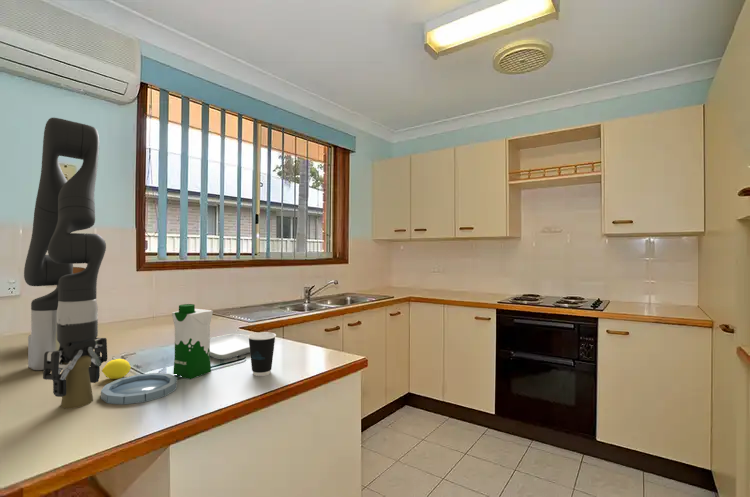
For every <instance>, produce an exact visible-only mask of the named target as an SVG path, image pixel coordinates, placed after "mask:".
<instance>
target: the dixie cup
mask: <svg viewBox="0 0 750 497" xmlns="http://www.w3.org/2000/svg"><path fill="white" fill-rule="evenodd" d="M247 336H248V338H249V346H250V353H249V354H250V355H249V356H250V364H251V371H252V375H254V376H257V377H264V376H268V375H269V374H271V370H272V367H273V357H274V351H275V350H274V349H275V344H276V343H275V342H276V337H277V334H276V333H274V332H267V331H266V332H264V331H263V332H254V333H250V334H248V335H247Z"/></svg>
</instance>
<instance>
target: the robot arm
mask: <svg viewBox="0 0 750 497" xmlns="http://www.w3.org/2000/svg"><path fill="white" fill-rule="evenodd" d="M99 154H100V136H99V131H98V129H97V128H96V127H94V126H93V125H88V124H86V123H81V122H76V121H72V120H68V119H64V118H59V117H50V118H49V119H48V120H46V123H45V126H44V131H43V140H42V153H41V155H42V156H41V168H40V169H41V170H40V176H39V182H38V188H37V194H36V197H35V204H34V212H33V221H32V223H33V224H32V234H31V239H30V243H29V246H28V251H27V255H26V259H25V262H24V268H23V279H24V281H25V283H26V284H27V285H28V286H30V287H47V286H48V287H50V286H52V287H53V286H55V289H54V290H52V291H51V292H50V293H48V294H45V295H42V296H39V297H37V298H34V299H33V300H32V301H31V303H30V309H31V310H30V318H31V319H30V320H31V321H30V323H31V325H30V330H31V331H30V334H28V337H27V346H28V347H27V349H28V350H27V355H28V356H27V360H28V361H27V368H29V369H31V370H34V371H43V372H42V374H43V375H42V379H43V380H46V381H47V380H48V381H49V380H50V381H52V382H53V384H52V385H53V386H52V387H53V388H52V394H53V396H54V397H59V398H60V397H61V398H62V397H63V396H65V395H66V379H65V378H66V376H67V374H68V372H69V371H70V370H72V369H73V367H74V365H75V364H76V362H77V360H78V358H80V357H82V356H89V357H90V358H91V365H90V367H89V368H88V370H89V376H90V382H91V384H96V383H99V380H100V377H101V376H100V373H101V372H100V371H101V369H100V368H101V366H102V364H103V363H104V362H105V363H107V361H108V342H107V341H108V340H107V338H106V337H98V336H99V335H98V334H99V333H98V332H99V329H98V328H99V326H98V325H99V322H98V321H99V318H98V316H99V314H98V313H99V309H98V308H99V306H98V302H97V301H98V300H97V293H98V292H97V284H98V283H97V282H98V276H99V271H100V267H101V265H102V262H103V259H104V257H105V254H106V251H107V243H106V240H105V239H104V237H102V235H100V234H98V233H88V232H87V233H82V232H81V233H78V231H84V230H88V229H91V228H92V227H93V226H94V225H95V223H96V207H95V206H96V205H95V191H96V181H97V174H98V167H99V156H100V155H99ZM60 156H61V157H66V158H70V159H77V160H82V164H81V166H80V168H79V169H78V170H77V171H76V173H75V174H73V176H72V177H70V178H69V179H67V178H66V176H65V174H64V172H63V171H62V168H61V165H60V163H59V157H60ZM75 232H76V233H75ZM75 264H77V265H78V264H87V265H86V267H84V268H85V269H84V270H83V271H81V272H78V273H73V267H74V265H75ZM64 362H65V363H68V364H67V365H63V364H64Z"/></svg>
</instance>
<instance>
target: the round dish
mask: <svg viewBox="0 0 750 497" xmlns="http://www.w3.org/2000/svg"><path fill="white" fill-rule="evenodd" d="M177 386H178V376H173V374H171V373H164V372H163V373H162V372H151V373H150V372H149V373H141V374H134V375H131V376H130V375H129V376H124V377H122V378H120V379H115V380H114V381H111V382H109V383H106V384H105V385H104V386H103V387H102V389H101V390H100V400H102V401H103V402H105V403H106V404H112V405H133V404H139V403H146V402H150V401H152V400H153V401H154V400H157V399H160V398H164V397H166V396H168V395H169V394H171V393H172V392H174V391H176V389H177V388H178V387H177Z"/></svg>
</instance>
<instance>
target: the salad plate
mask: <svg viewBox="0 0 750 497" xmlns="http://www.w3.org/2000/svg"><path fill="white" fill-rule="evenodd" d="M248 336H249V335H246V334H242V333H241V334H240V333H228V334H223V335H218V336H213V337H210V356H211V357H210V358H214V357H215V358H214V359H217V358H218V360H228V359H227V358H229V359H232V358H231V357H233V358H235V357H234V356H236V357H238V356H237V355H240V356H243V355H247V354H250V346H249V338H248Z"/></svg>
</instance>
